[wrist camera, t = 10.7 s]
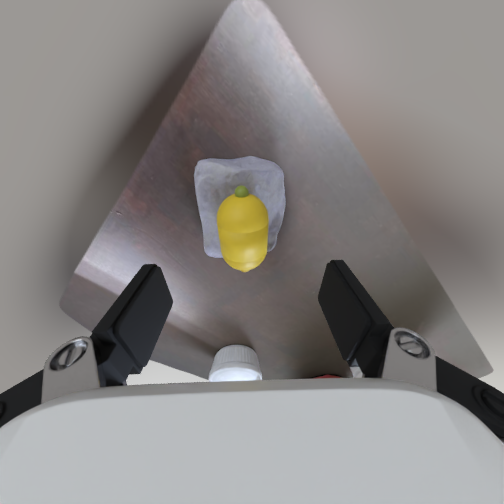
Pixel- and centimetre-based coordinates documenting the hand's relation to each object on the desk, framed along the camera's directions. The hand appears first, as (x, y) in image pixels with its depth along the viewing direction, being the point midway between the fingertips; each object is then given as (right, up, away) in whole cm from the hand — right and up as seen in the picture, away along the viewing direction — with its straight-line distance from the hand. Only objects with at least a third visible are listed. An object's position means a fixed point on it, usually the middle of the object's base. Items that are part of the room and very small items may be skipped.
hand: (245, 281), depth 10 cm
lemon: (-1, +5, +9) cm, 10 cm away
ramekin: (-3, -22, +32) cm, 39 cm away
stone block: (-1, +7, +13) cm, 15 cm away
